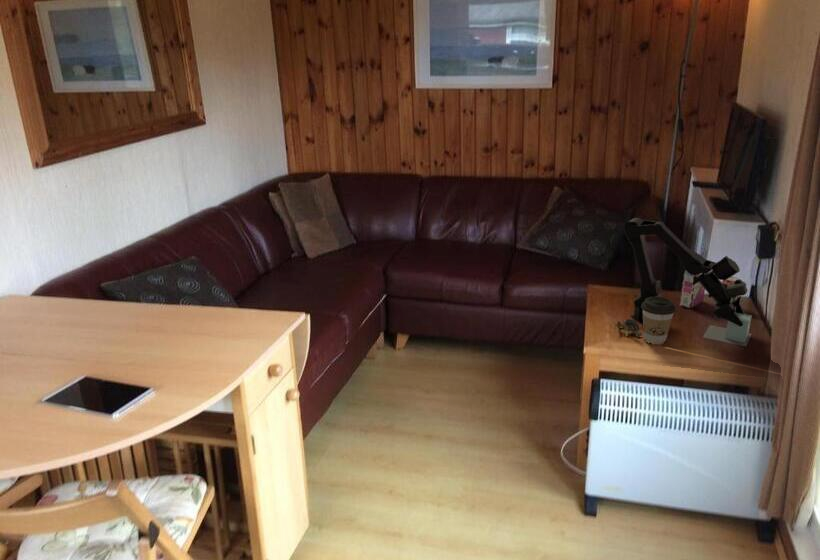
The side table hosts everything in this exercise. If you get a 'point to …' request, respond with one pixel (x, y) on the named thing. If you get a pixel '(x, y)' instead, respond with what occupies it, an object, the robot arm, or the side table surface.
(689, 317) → the side table surface
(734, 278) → the beverage can
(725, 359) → the side table surface
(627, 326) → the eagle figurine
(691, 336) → the side table surface
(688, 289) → the candy bar box
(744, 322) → the block
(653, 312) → the coffee cup
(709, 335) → the mat
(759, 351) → the side table surface
